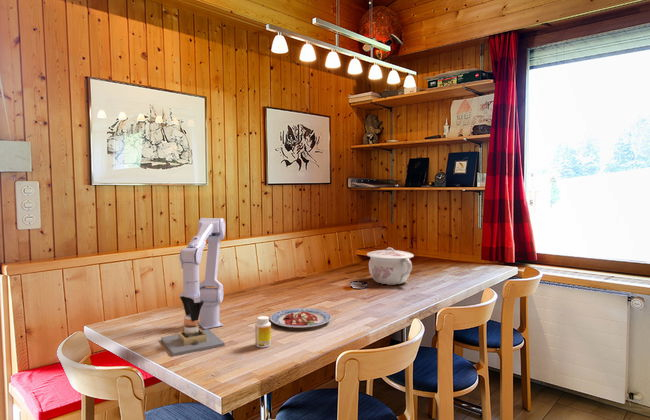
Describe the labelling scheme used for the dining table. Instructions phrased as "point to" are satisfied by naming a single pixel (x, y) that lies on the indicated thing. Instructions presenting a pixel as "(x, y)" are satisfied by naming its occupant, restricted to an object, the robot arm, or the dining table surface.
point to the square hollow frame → (192, 338)
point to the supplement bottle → (263, 332)
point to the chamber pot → (390, 266)
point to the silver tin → (190, 327)
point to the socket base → (179, 348)
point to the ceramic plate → (300, 317)
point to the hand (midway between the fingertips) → (191, 317)
